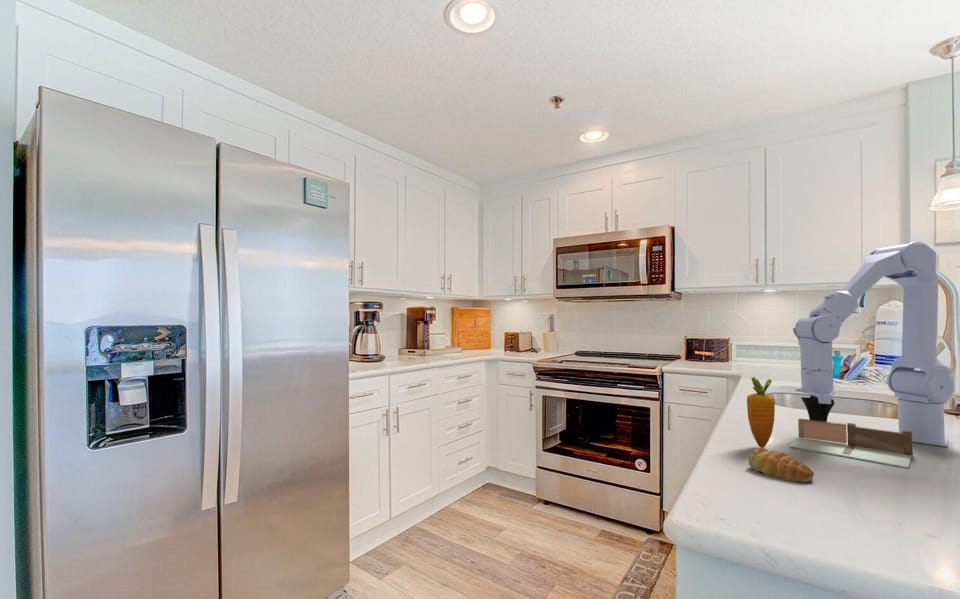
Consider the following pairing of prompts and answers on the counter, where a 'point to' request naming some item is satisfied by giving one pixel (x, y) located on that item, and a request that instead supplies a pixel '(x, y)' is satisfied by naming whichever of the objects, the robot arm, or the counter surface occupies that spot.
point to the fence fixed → (880, 439)
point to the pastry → (779, 465)
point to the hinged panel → (822, 430)
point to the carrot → (761, 412)
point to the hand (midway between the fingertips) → (818, 430)
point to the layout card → (854, 452)
